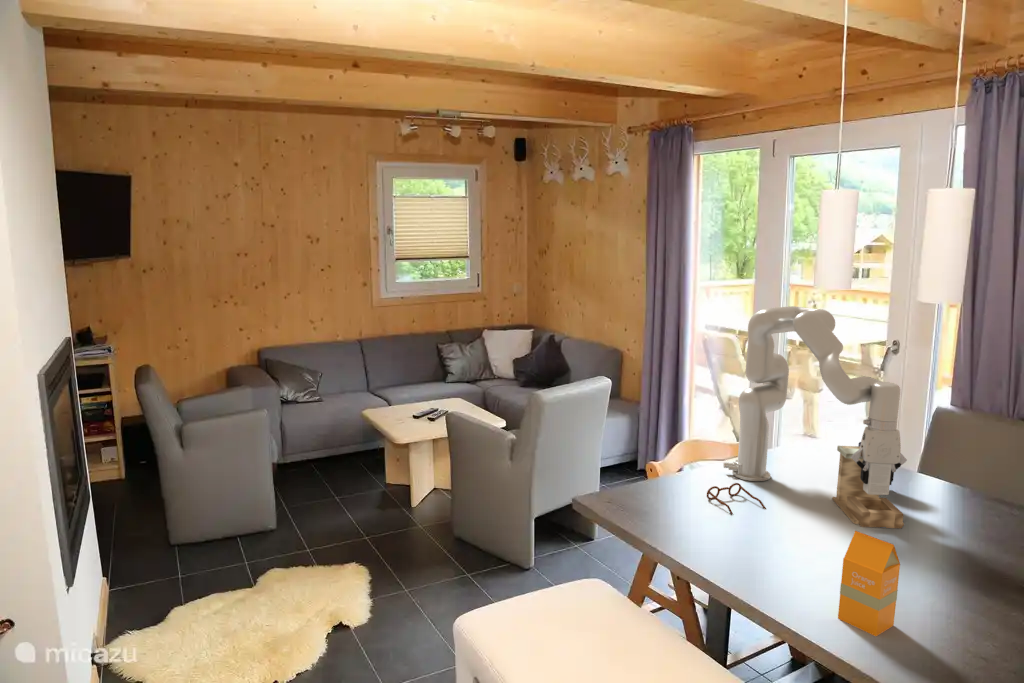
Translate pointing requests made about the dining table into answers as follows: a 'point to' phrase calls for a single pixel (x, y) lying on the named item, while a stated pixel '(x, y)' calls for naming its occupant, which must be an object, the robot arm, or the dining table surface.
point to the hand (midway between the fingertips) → (876, 482)
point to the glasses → (730, 494)
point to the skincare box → (878, 479)
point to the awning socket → (862, 496)
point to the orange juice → (869, 584)
